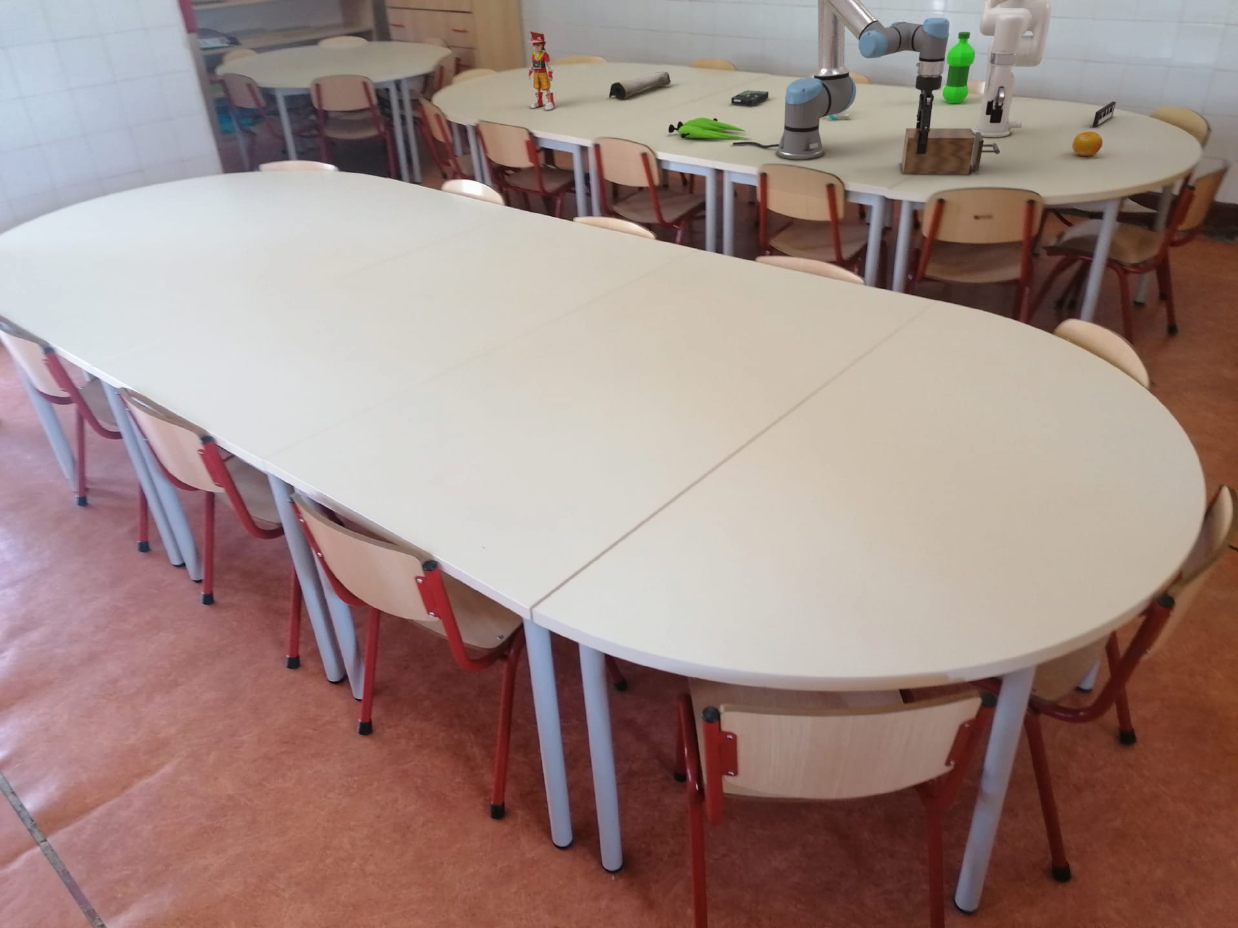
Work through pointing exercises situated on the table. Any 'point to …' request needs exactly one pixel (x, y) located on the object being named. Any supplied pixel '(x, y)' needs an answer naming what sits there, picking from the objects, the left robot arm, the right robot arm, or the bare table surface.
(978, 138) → the drawer
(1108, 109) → the midi keyboard
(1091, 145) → the fruit
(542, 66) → the toy
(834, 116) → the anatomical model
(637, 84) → the rolled mat
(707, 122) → the toy
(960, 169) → the cabinet
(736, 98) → the disk drive
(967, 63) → the plastic bottle
